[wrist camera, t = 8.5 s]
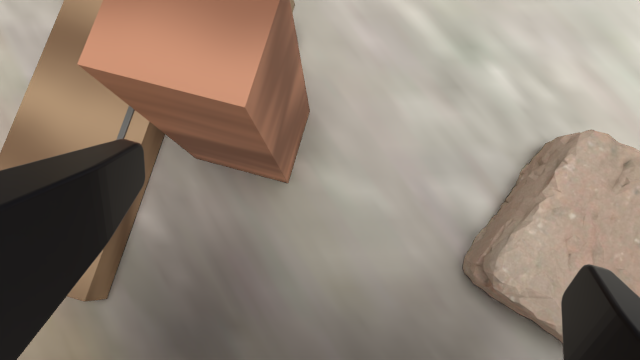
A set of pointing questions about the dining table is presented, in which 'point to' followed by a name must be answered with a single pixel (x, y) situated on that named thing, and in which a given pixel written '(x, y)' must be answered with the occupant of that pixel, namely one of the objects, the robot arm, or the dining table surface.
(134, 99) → the wooden block with peg
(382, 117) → the dining table surface
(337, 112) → the dining table surface
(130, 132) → the board
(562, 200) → the brick
